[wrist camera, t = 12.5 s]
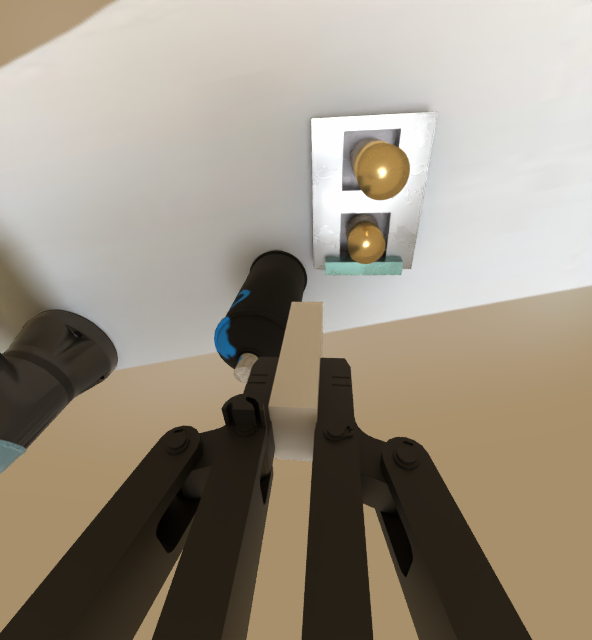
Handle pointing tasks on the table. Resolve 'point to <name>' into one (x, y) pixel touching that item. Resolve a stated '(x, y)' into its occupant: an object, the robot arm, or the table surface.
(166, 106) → the table surface
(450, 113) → the table surface
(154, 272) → the table surface
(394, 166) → the brass rod
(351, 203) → the jig
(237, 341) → the aerosol can
